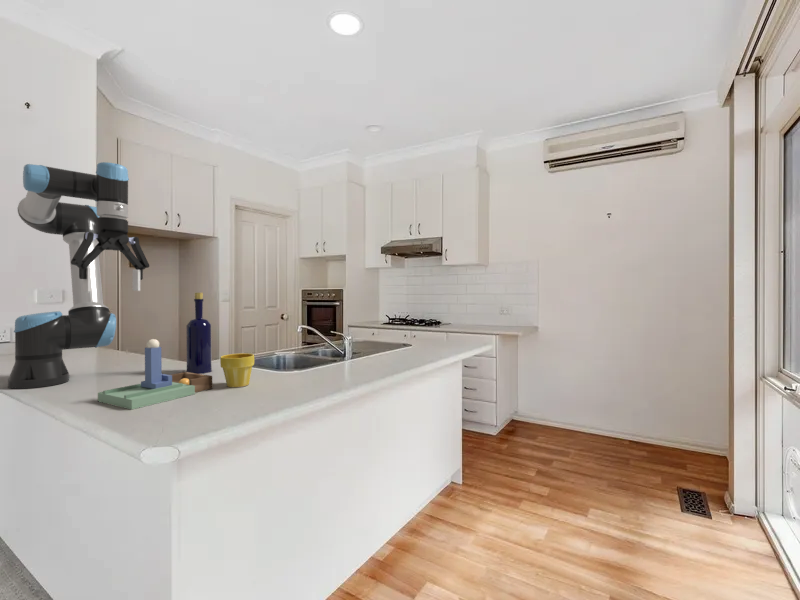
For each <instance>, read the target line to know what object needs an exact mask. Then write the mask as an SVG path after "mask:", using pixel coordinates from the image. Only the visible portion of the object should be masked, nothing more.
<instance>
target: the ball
mask: <svg viewBox="0 0 800 600" xmlns="http://www.w3.org/2000/svg"><path fill="white" fill-rule="evenodd" d="M178 383H183V384H187V385H189V379H187V378H183V379H181V380H180V381H179V382H178Z"/></svg>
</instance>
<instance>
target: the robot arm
mask: <svg viewBox="0 0 800 600" xmlns="http://www.w3.org/2000/svg"><path fill="white" fill-rule="evenodd" d="M128 172H129V171H128V168H127V167H126V166H125V165H122V164H119V163H114V162H108V161H107V162H106V161H105V162H104V161H103V162H102V161H101V162H98V163H97V164H96V171H95V174H93V173H85V172H81V171H80V172H79V171H76V170H75V171H74V170H68V169H62V168H58V167H52V166H47V165H43V164H32V163H31V164H30V163H27V164H25V165H24V166H23V171H22V183H23V184H22V185H23V186H22V187H23V188H24V190H25V191H27V193H26V195H25V197H23V198H22V199H21V200H20V201H19V202H18V205H17V213H18V216H19V218H20V219H21V221H23V223H24V224H26V225H28V226H29V227H31V228H32V229H35V230H36V231H39V232H40V233H41V232H42V233H44V234H51V235H62V240H63V242H65V243H66V244H68V249H69V250H68V251H69V264H70V265H69V266H70V277H71V290H72V291H71V292H72V303H73V306H72V307H71V308H70V309H68V313H67V314H68V315H67V314H65V315H63V313H62V311H60V310H58V311H47V312H46V311H45V312H38V313H31V314H30V313H29V314H25V315H21V316H18V317H17V318H16V319H15V322H14V330H13V333H14V347H15V348H14V365H13V367H12V370H11V372H10V374H9V377H8V379H7V387H8V388H10V389H35V388H42V387H43V388H44V387H49V386H55V385H60V384H65V383H67V382H69V381H70V373H69V371H68V368H67V366H66V363H65V362H64V361H65V360H64V359H63V350H64V351H65V350H75V349H77V350H78V349H87V348H88V349H89V348H91V349H92V348H99V347H108V346H110V345H111V344H112V342H113V341H114V338H115V335H116V330H117V317H116V314H115V313H113V312H112V313H111V312H110V307H108V306H107V305H105V304H104V295H103V285H102V275H101V263H100V255H101V253H102V252H103V251H106V250H107V251H119V252H121V254H122V255H124V257H125V258H126V259H127V260H128V262H130V264H131V265H132V266H133V268H135V269H132V283H131V284H132V286H131V288H132V292H133V291H134V292H141V281H142V280H143V279H144V277H143V276H144V273H143V272H144V270H145V269H147V268H149V267H150V264H149V262H148V259H147V258H146V255H145V254H144V253H145V252H144V250H143V249H142V247H141V245H140V239H139V237H138V236H132V237H129V236H128V233H129V221H128V220H127V219H128V218H129V180H130V179H129V173H128ZM62 197H69V198H78V199H81V200H82V199H85V200H90V201H95V202H96V206H92V205H89V204H84V205H83V204H77V203H67V202H61V201H60V200H61V198H62ZM128 244H129V245H130V246H131V248H130V246H128ZM131 249H132V250H133V252H132V251H131Z"/></svg>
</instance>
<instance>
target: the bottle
mask: <svg viewBox="0 0 800 600" xmlns="http://www.w3.org/2000/svg"><path fill="white" fill-rule="evenodd" d="M203 293H204V292H194V298H193V302H194V312H195V313H194V314H195V315H194V318H193V319H190V321H188V323H187V324H186V372H189V373H196V374H203V375H204V374H208V373H211V372H213V371H212V370H213V369H212V365H213V364H212V357H213V356H212V323H211V322H210V321H209V320H208V319H207V318H203V313H204V312H203V311H204V310H203V309H204V307H203V306H204V304H203V303H204V297H203V296H204V294H203Z"/></svg>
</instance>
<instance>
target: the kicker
mask: <svg viewBox="0 0 800 600" xmlns="http://www.w3.org/2000/svg"><path fill="white" fill-rule="evenodd" d="M162 362H163V361H162V347H161V346H160V341H159V340H157V339H156V338H155V339H154V338H152V339H149V340H148V341H147V343H146V347H144V380H142V381H140V384H141V387H146V388H151V389H156V388H161V387H166V386H170V385H172V374H166V373H162V368H163V367H162V366H163V365H162Z"/></svg>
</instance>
